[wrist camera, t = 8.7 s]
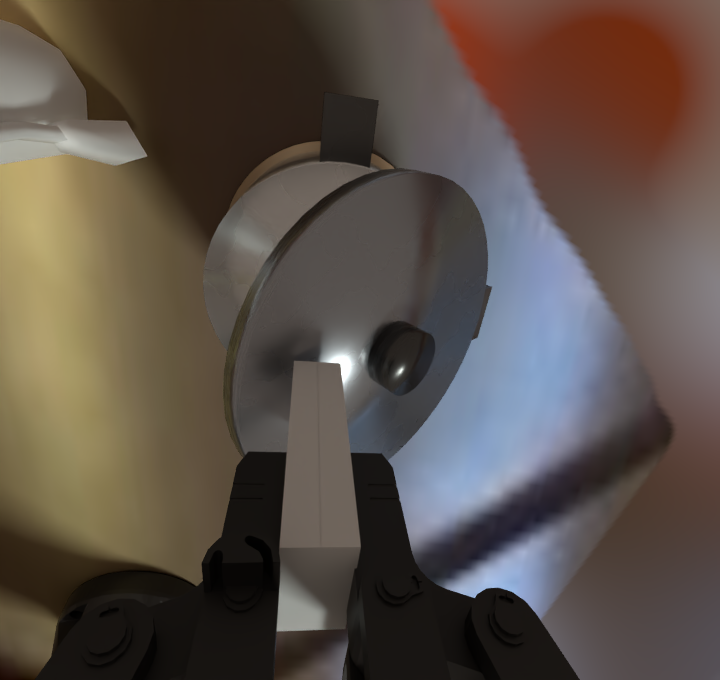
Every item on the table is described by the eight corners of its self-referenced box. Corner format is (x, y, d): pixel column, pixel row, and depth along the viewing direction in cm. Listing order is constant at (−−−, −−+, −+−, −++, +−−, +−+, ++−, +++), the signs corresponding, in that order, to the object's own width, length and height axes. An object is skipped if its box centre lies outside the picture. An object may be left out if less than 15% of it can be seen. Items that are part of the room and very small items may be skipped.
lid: (227, 540, 16) (257, 582, 15) (215, 160, 10) (265, 176, 9) (443, 408, 26) (473, 427, 25) (507, 172, 20) (552, 181, 18)
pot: (233, 361, 32) (210, 431, 25) (228, 84, 24) (191, 71, 17) (408, 371, 34) (433, 437, 27) (461, 118, 26) (517, 120, 19)
